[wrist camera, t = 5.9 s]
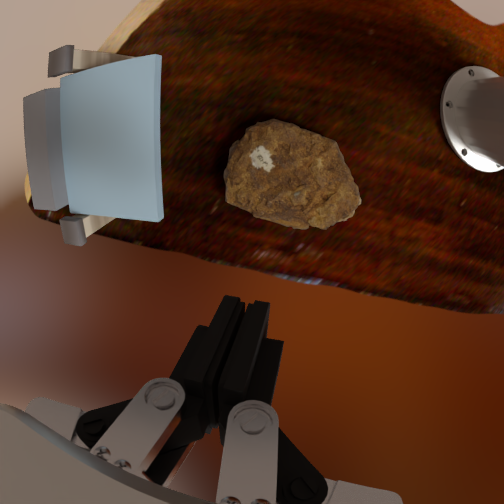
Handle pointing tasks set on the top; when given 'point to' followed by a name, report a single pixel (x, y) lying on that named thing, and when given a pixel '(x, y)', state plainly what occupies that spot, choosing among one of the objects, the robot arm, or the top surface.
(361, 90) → the top surface
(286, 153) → the decorative rock
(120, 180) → the trapdoor
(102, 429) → the robot arm
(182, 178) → the top surface
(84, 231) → the trapdoor stand
